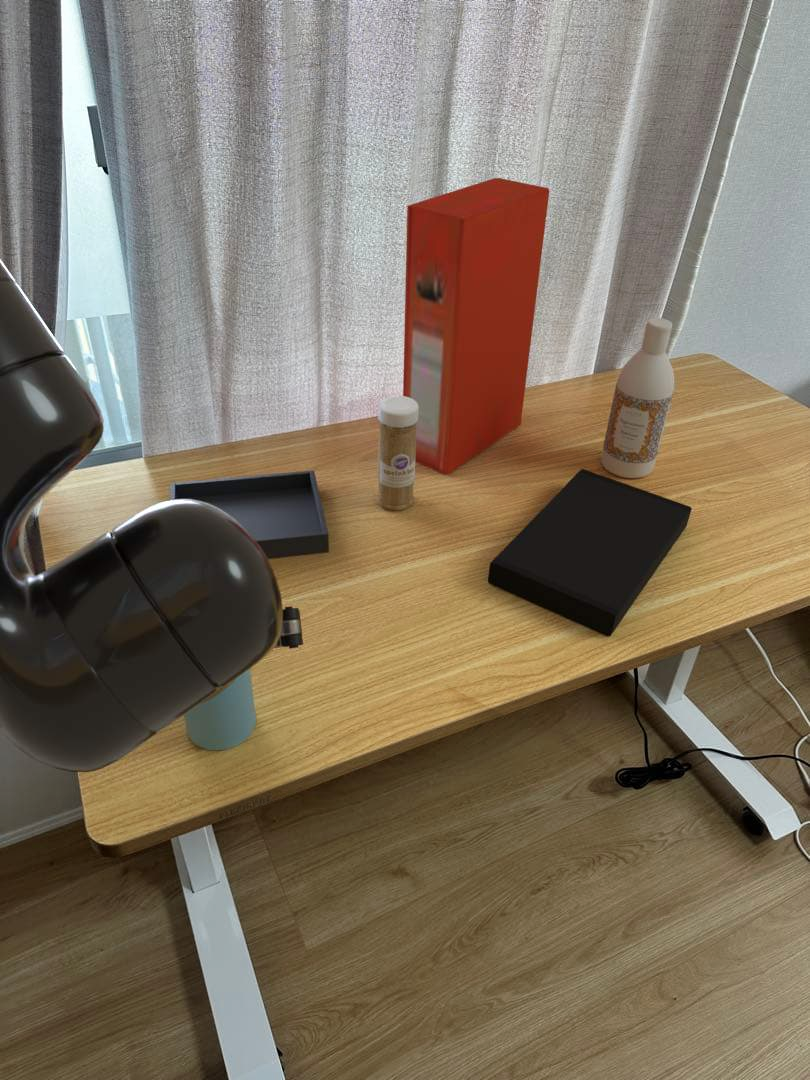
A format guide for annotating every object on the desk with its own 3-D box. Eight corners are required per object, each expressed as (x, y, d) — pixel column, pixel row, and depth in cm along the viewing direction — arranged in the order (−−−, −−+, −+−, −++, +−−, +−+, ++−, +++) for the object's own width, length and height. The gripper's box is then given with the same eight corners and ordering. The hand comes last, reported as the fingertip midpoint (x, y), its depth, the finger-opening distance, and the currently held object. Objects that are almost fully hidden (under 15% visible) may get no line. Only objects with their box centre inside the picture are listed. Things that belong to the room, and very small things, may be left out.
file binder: (399, 454, 108) (407, 204, 88) (473, 408, 119) (495, 176, 99) (448, 476, 104) (467, 219, 84) (520, 426, 115) (552, 189, 95)
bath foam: (592, 470, 106) (622, 325, 94) (609, 447, 111) (639, 306, 99) (644, 485, 103) (681, 338, 91) (659, 461, 108) (696, 319, 96)
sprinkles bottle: (387, 515, 97) (389, 416, 88) (370, 496, 100) (371, 398, 91) (420, 506, 98) (426, 408, 90) (403, 487, 101) (407, 390, 93)
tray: (171, 569, 87) (168, 550, 86) (173, 500, 98) (170, 482, 96) (329, 552, 91) (328, 533, 89) (314, 487, 101) (314, 470, 99)
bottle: (186, 755, 68) (153, 598, 57) (186, 702, 73) (155, 547, 62) (258, 745, 69) (238, 588, 58) (253, 692, 74) (235, 539, 63)
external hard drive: (487, 582, 87) (490, 561, 85) (577, 487, 103) (581, 467, 101) (610, 637, 81) (616, 615, 79) (686, 527, 96) (692, 507, 95)
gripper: (302, 558, 47) (293, 581, 63) (43, 585, 44) (102, 602, 60) (316, 687, 46) (304, 678, 62) (53, 723, 43) (110, 704, 59)
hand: (204, 641), depth 61 cm, fingers open, 8 cm apart
